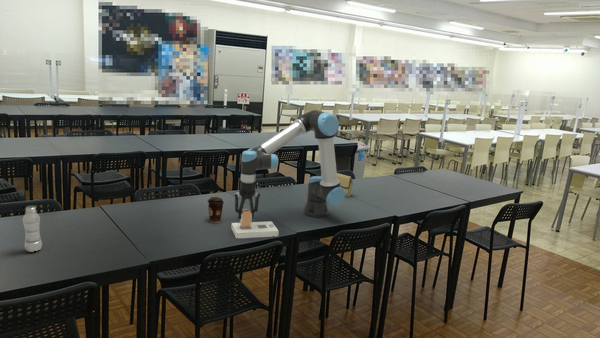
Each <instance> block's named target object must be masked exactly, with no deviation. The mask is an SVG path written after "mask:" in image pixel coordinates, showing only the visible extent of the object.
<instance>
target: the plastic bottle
mask: <svg viewBox="0 0 600 338" xmlns="http://www.w3.org/2000/svg"><path fill="white" fill-rule="evenodd" d="M36 211H37V207H36V206H35V205H28V206H25V214H24V215H23V217H22V224H23V228H24V234H25V237H24V250H25V251H26V252H27V251H28V253H35V252H34V251H36V252H38V250H39V251H40V250H41V249H42V247H43V246H42V245H43V243H42V242H43V241H42V238H41V234H40V224H41V217H40V214H38V213H37V212H36Z"/></svg>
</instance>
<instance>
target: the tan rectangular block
mask: <svg viewBox="0 0 600 338" xmlns="http://www.w3.org/2000/svg"><path fill="white" fill-rule="evenodd" d="M242 213H243V222H242V227H244V226H250V220H251V208H250V209H249V208H243V209H242Z"/></svg>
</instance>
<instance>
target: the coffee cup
mask: <svg viewBox="0 0 600 338" xmlns="http://www.w3.org/2000/svg"><path fill="white" fill-rule="evenodd" d="M207 203H208V206H207V207H208V220H209V222H211V223H214V224H217V223H218V224H219V223H221V221H222V214H223V207H224V206H223V205H224V201H223V198H221V197H218V196H210V197H209V198H208V200H207Z"/></svg>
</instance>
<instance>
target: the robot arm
mask: <svg viewBox="0 0 600 338" xmlns="http://www.w3.org/2000/svg"><path fill="white" fill-rule="evenodd" d="M339 128H340V123H339V119H338V117H336V115H334V114H333V113H330V112H328V111H321V110H318V109H313V110H309V111H307V112H305V113H304V114H302V115H299V117H296V118H295V119H294V122H293V123H291V124H290V125H288V126H287V127H285V128H284V129H282V130H281V131H279V132H278V133H276V134H275V135H273V136H272V137H270V138H269V139H267V140H266V141H264V142H262V143H261V144H260V145H258V146H257V147H251V148H249V149H247V150H244V151H242V153H241V158H240V159H241V161H240V162H241V163H240V164H241V165H240V182H239V184H240V185H239V190H238V192H234V193H233V195H234V211H235V213H238V219H239V223H240V225H241V226H242V222H243V213H242V209H244V205H245V201H246V200H248V201H249V206H250V207H249V208H250V211H251V220H250V225H251V222H253V221H252V220H253V219H254V216H255V213H257V212H258V210H259V202H260V201H259V200H260V197H261V193H260V192H257V191H256V177H257V176H256V175H257V170H272V169H273V170H274V169H276V168H278V166H279V157H278V156H277V154H275V152H276V151H278V150H280V149H281V148H282V147H284V146H286V144H288V143H290V142H291V141H293V140H294V139H296V138H298V137H299V136H300V135H302V134H307V133H308V132H312V131H313V132H314V138H315V140H317V143H318V154H319V163H320V172H321V173H322V176H318V175H316V176H310V177H309V178H308V182H307V183H308V186H307V198H306V199H307V200H306V203H305V204H304V207H303V210H302V213H303V214H304V215H306V216H307V217H312V218H325V217H327V216H328V214H329V209H328V205H329V206H333V207H335V206H338V205H340V204H341V203H342V202H343V201H344V199H345V197H346V196H345V191H344V189H343V188H342V187H341V185H340V180H339V179H338V178H337V173H338V172H337V163H336V152H335V141H334V138H336V136H337V132H338V130H339ZM240 196H241V200H240V204H239V197H240ZM254 196H255V199H253V197H254ZM253 200H254V202H253ZM327 204H328V205H327Z"/></svg>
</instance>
